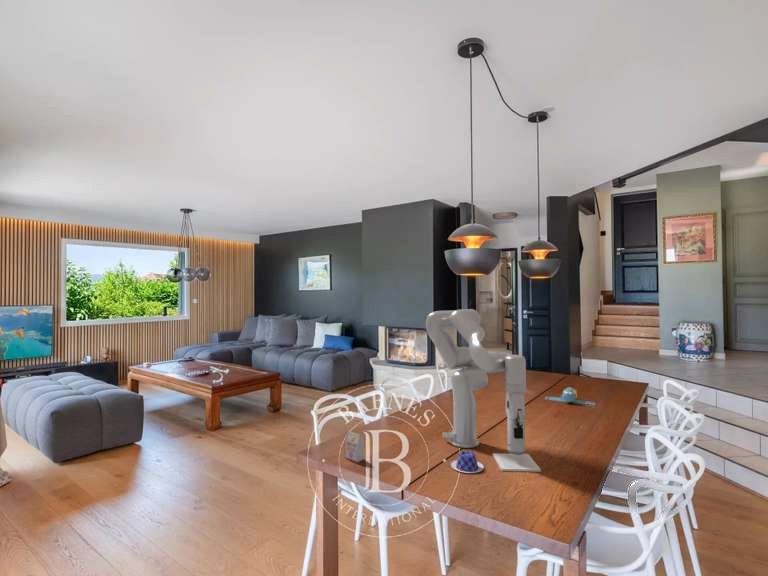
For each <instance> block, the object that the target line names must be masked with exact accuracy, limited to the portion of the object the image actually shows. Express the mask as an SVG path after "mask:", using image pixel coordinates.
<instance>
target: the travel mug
mask: <svg viewBox="0 0 768 576" xmlns="http://www.w3.org/2000/svg"><path fill="white" fill-rule="evenodd" d="M507 405H508V406H507V414H506V416H507V420H506V422H507V426H506V427H507V430H506V431H507V452H508V454H514V455H523V454H526V437H525V436H526V433H525V430H526V427H525V422H526V421H525V419H524V422H523V439H515V438H514V427H515V423H514V420H511V419H510V418H509V401H508V400H507ZM516 419H519V418H518V417H516ZM518 422H519V421H517V423H518Z"/></svg>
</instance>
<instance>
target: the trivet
mask: <svg viewBox="0 0 768 576" xmlns="http://www.w3.org/2000/svg"><path fill="white" fill-rule="evenodd" d="M492 457H493V458H494V460H495V462H496V464H497V465H498V467H499V469H500V471H502V472H529V473H531V472H533V473H535V472H542V469H541V468H540V466H539V465H537V463H536V462H535V461H534V460H533V458H532V457H531V455H530V454H529V453H524V454H523V455H514V454H511V453H494V452H493V453H492Z"/></svg>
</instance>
